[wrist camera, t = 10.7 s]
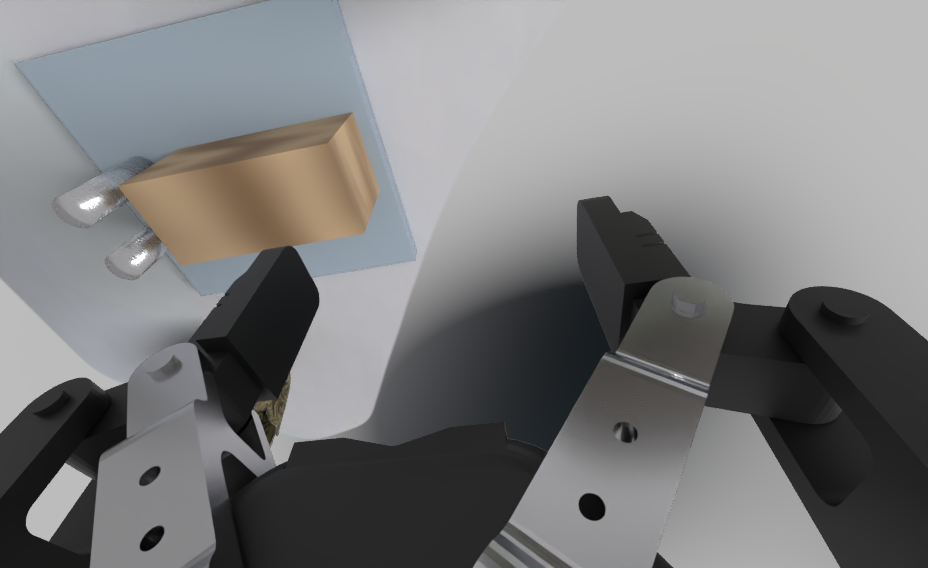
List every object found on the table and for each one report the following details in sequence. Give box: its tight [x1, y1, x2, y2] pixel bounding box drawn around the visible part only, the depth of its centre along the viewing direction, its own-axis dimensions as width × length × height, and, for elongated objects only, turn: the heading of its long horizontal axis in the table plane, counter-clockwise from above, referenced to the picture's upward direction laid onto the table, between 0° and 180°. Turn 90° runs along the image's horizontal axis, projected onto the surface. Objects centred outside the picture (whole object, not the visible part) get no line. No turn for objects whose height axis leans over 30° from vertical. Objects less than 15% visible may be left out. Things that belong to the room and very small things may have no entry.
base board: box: [15, 0, 417, 296], centre depth 23 cm, size 16×15×1 cm
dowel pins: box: [52, 156, 168, 280], centre depth 21 cm, size 2×5×5 cm, turn 11°
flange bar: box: [118, 112, 380, 266], centre depth 20 cm, size 10×4×5 cm, turn 101°
